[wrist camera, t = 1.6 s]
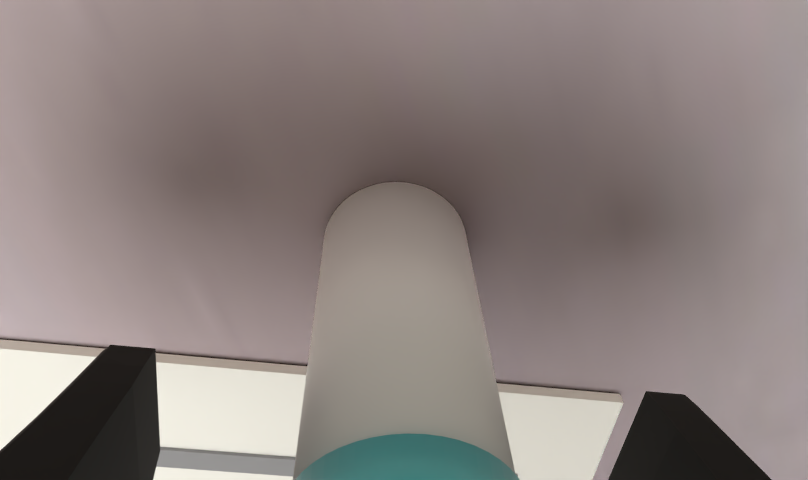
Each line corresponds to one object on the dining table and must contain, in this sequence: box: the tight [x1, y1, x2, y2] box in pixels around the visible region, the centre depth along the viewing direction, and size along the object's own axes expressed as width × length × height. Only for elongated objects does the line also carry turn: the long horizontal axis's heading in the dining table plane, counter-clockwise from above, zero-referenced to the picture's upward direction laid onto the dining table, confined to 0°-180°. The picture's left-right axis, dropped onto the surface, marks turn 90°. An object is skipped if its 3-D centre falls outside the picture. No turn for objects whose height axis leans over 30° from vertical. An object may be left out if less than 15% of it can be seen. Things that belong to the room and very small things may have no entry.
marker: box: [293, 182, 520, 480], centre depth 12 cm, size 3×3×8 cm
